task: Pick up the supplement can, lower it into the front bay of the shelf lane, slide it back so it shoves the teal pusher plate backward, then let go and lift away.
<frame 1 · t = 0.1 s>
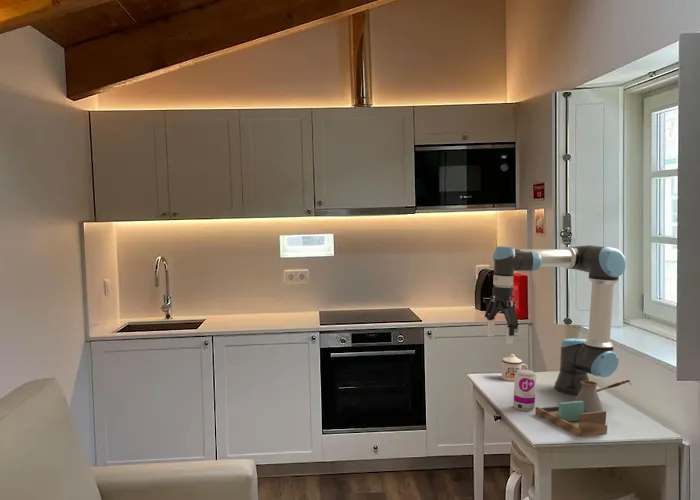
hand: (499, 340, 254), 28 cm above the table, tool pointing down, fingers open, 13 cm apart
supplement can: (523, 408, 259), on the table
teacup with lid: (514, 379, 301), on the table
lane: (569, 423, 242), on the table
coffee pot: (599, 416, 253), on the table
pusher plate: (571, 411, 242), point 5 cm above the table, slide at 0.0 cm
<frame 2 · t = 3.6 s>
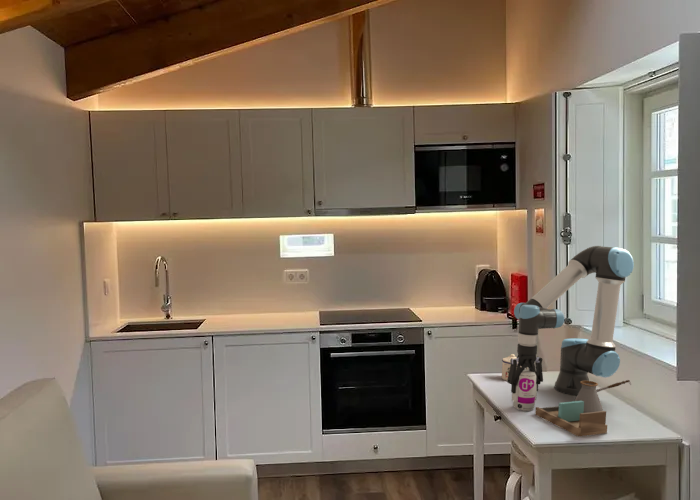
hand: (524, 400, 258), 3 cm above the table, tool pointing down, fingers closed on supplement can, 8 cm apart
supplement can: (523, 408, 259), on the table, touching gripper
everything else where it was.
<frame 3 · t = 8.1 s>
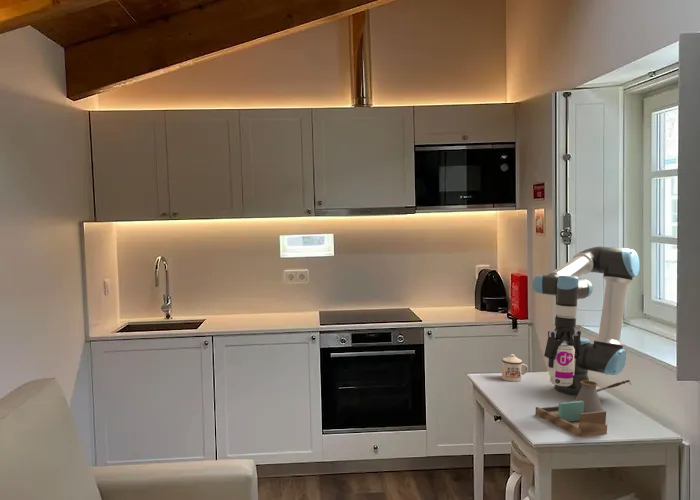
hand: (561, 375, 246), 17 cm above the table, tool pointing down, fingers closed on supplement can, 8 cm apart
supplement can: (561, 384, 247), point 13 cm above the table, touching gripper
everything else where it was.
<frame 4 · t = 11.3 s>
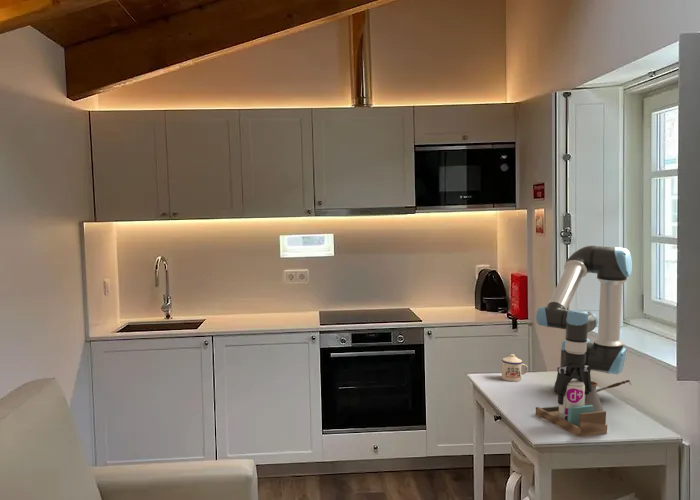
hand: (571, 411, 242), 5 cm above the table, tool pointing down, fingers closed on supplement can, 8 cm apart
supplement can: (570, 420, 242), point 1 cm above the table, touching gripper, pusher plate
pusher plate: (580, 415, 237), point 5 cm above the table, slide at 5.1 cm, touching supplement can
everything else where it was.
when the fingers open (5 cm above the table, at t = 12.4 s): supplement can stays where it is, resting on lane.
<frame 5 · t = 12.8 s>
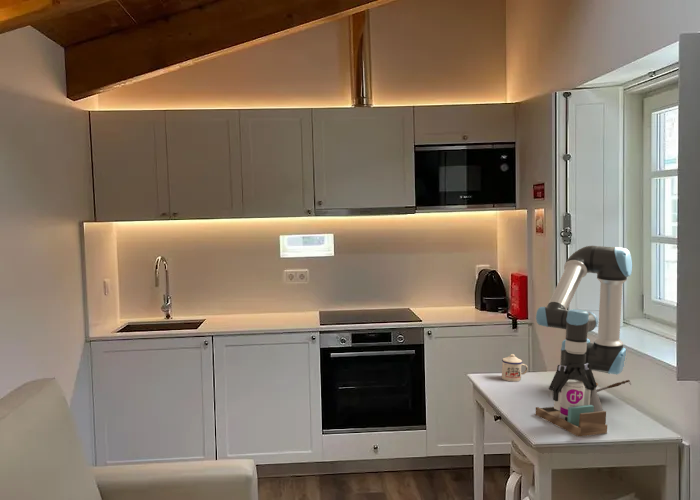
hand: (571, 407, 241), 6 cm above the table, tool pointing down, fingers open, 13 cm apart
supplement can: (570, 421, 242), point 1 cm above the table, touching lane
pusher plate: (580, 415, 237), point 5 cm above the table, slide at 5.1 cm
everything else where it was.
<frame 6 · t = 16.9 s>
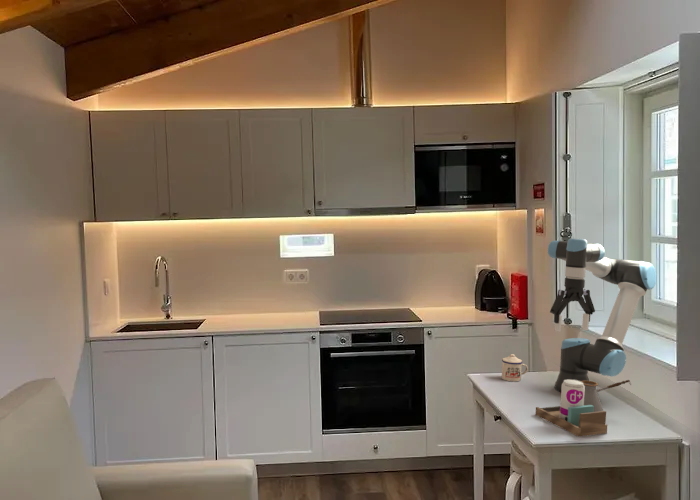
hand: (571, 330, 258), 32 cm above the table, tool pointing down, fingers open, 13 cm apart
nothing on the table moved.
at the end: supplement can 0.1 cm from the target spot, point 0.8 cm above the table; pusher plate slide at 5.1 cm; supplement can tilted 0° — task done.
